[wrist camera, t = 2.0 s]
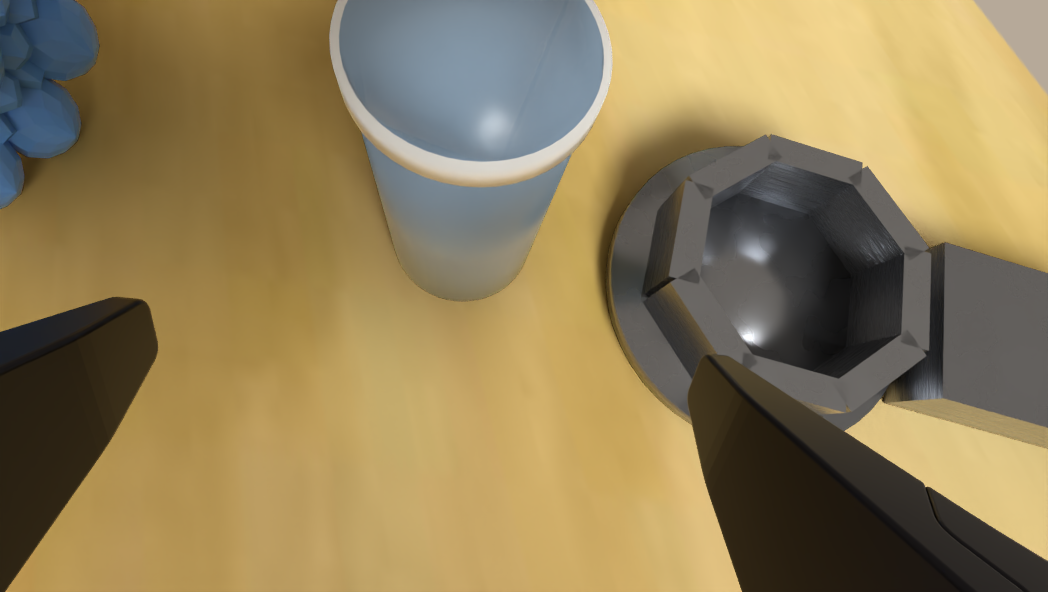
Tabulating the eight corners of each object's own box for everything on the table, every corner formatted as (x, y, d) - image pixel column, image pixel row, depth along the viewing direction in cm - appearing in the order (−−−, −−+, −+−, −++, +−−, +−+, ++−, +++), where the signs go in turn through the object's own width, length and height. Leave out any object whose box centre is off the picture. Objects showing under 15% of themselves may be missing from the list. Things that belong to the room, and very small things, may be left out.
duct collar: (576, 400, 22) (602, 392, 18) (635, 122, 26) (667, 69, 22) (1083, 535, 24) (1204, 554, 20) (1066, 255, 28) (1166, 225, 24)
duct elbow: (528, 312, 23) (608, 188, 12) (379, 297, 22) (304, 148, 11) (542, 110, 26) (618, -154, 14) (410, 90, 25) (376, -204, 14)
